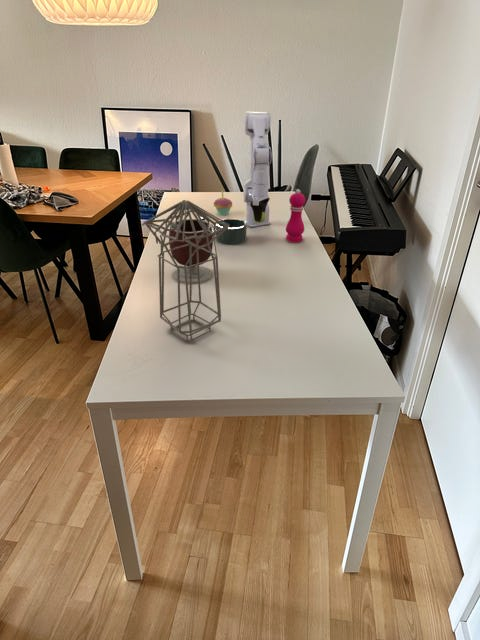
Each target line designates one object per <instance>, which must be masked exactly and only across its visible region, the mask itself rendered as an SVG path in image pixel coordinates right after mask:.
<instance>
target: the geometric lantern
mask: <svg viewBox="0 0 480 640" xmlns="http://www.w3.org/2000/svg"><path fill="white" fill-rule="evenodd" d="M169 212H170V213H169ZM167 213H169V214H168V216H167V217H166V218H161V219H158V218H160V217H162V216H163V215H166V214H167ZM192 216H193V217H194V219H196V220H197V221H198V223H199V224H200V226H201V227H202V229H203V230H204V232H203V233H202V235H201V236H197V234H196V231H195V227H194V224H193V220H192V219H193V218H192ZM201 217H202V218H204V219H205V221H207V222H208V225H207V227H206V225H205V224H204V222H203V220H202V219H201ZM186 219H190V222H191V225H192V229H193V232H194V236H190V237H186V235H185V234H184V232H185V220H186ZM199 219H200V220H199ZM168 220H170V221H169V223H167V221H168ZM174 220H175V221H176V223H175V228H172V229H170V224H171V223H172V221H173V222H174ZM178 220H179V224H178V228H177V221H178ZM219 220H220V221H219ZM200 221H201V222H200ZM222 222H223V223H222ZM157 223H160V224H157ZM183 223H184V228H183V232H182V231H181V230H180V227H181V226H182V224H183ZM209 223H210V224H212V225H214V232H212V231H210V230H209V229H208V228H209ZM202 224H203V225H202ZM216 224H220V225H223V226H224V227H222V228H220V229H218V230H216V231H215V227H216ZM164 225H165V226H164ZM141 226H146V227H147V229H148V230H149V232H150V233H151V234H152V235H153V237H154V239H155V243H156V244H159V245H160V253H159V254H157V257H158V283H159V284H158V289H159V318H160V320H162V321H163V322H165V323H166V324H167V325H169V327H170V331H169V332H170V333H171V334H172V335H174V336H176V337H178V338H179V339H181V340H182V341H184V342H186V343H190V342H193V341H195V340H197V339H199V338H201V337H203V336H205V335H206V334H207V335H208V333H211V331H212V328H211V327H212V326H214V325H216V324H217V323H220V322H221V321H222V311H221V310H222V309H221V292H220V276H219V275H220V274H219V257H218V253H217V246H216V238H217V237H218V236H220V235H221V234H222V233H223V232H224V231H225V230H226V229H228V227H229V224H228V223H226V222H224V221H222V219H221V218H219V217H218V216H215V215H214V214H212V213H211V212H209V211H207V210H205V209H204V208H201V207H200V206H199V205H197V204H195V203H194V202H191V201H190V200H188V199H187V200H185V199H182V201H179V202H177V203H176V204H174V205H172V206H170V207H168V208H167V209H165V210H163V211H161V212H159V213H158V214H155V215H153V216H152V217H150V218H148V219H147V220H144V221H143V222H142V224H141ZM154 230H155V231H154ZM175 230H177V233H176V237H172V236H169V234H168V232H169V231H175ZM179 231H181V233H182V234H183V239H182V240H177V239H178V235H179ZM207 231H208V232H209V234H208V232H207ZM220 231H221V232H220ZM218 232H220V233H218ZM157 233H159V234H160V235H159V236H158V235H157ZM205 233H206V235H204V234H205ZM217 233H218V234H217ZM216 234H217V235H216ZM210 235H213V239H212V240H210V241H209V242H208V236H210ZM184 236H185V237H186V238H184ZM204 237H207V244H204V245H202V246H198V243H199V242H200V240H201V239H202V238H204ZM166 238H167V239H169V238H170V239H173V240H171V241H169V240H168V242H166ZM192 238H195V239H196V245H195V244H193V243H192V242H191V241H190V240H189V239H192ZM197 239H199V240H198V241H197ZM175 241H180V242H184V241H185V242H187V243H189V244H190V258H189V260H188V261H187V263H186V264H185V266H184V265H178V262H177V261H176V260H175V259H174V258H173V256H172V254H171V250H175V249H178V248H181V247H185V246H188V245H189V244H186V245H183V246H180V247H176V248H173V249H170V248H168V245H169V244H171V243H173V242H175ZM212 242H213V247H214V252H213V250H212V251H211V248H210V246H209V244H210V243H212ZM192 246H193V247H195V248H196V249H195V251H194V252H193V254H192ZM206 246H208V249H209V251H208V250H206V249H204V248H203V247H206ZM164 249H165V250H164ZM199 249H202V250H204V251H206V252H208V253H210V254H211V256H210V257H211V258H210V259H208V260H207V261H204V262H200V263H199V255H198V250H199ZM195 252H196V255H197V264H194V265H192V256H193V255H194V253H195ZM165 253H167V254H168V255H169V257H170V259H171V261H169V260H167V259H166V258H165ZM189 261H190V266H187V267H186V265H187V264H188V262H189ZM165 262H166V263H168V264H169V265H171V266H172V267H174V268H176V270H177V278H178V280H177V305H175V306H173V307H170V308H167V309H165V306H164V305H165ZM208 262H212V266H213V277H214V287H215V289H214V290H215V298H216V308H217V311H216V310H215V309H214V308H212V307H211V306H208V305H207V304H205V303H204V302H203V301H202V292H201V291H202V290H201V282H200V272H199V266H200V265H199V264H202V263H204V264H206V263H208ZM196 265H197V272H198V283H197V287H198V300H192V297H193V296H192V289H193V288H192V286H193V285H192V284H193V283H192V267H193V266H196ZM202 265H203V264H202ZM179 268H182V269H184V271H185V283H184V284H185V293H186V302H183V303H181V282H180V271H179ZM187 268H190V283H188V280H187ZM191 303H193V304H197V305H196V307H195V309H194V311H193V313H192V306H191ZM186 305H187V314H186V315H183V316H182V313H181V312H182V311H181V310H182V309H181V307H183V306H186ZM200 305H202V306H203V307H205V308H207V309H208V310H209V311H211V312H213V313H214V314H216V316H215V317H214V318H213V319H212V320H211V321H208V320H207V319H204V318H203V317H201V316H199V315H197V314H196V312H197V310H198V308H199V306H200ZM175 309H177V311H178V313H177V314H178V315H177V317H178V319H176V320H173V321H171V320H170V319H169V318H168V317H167V316H166V315H165V313H167V312H169V311H173V310H175ZM191 316H192V317H191ZM187 317H188V320H186V321H184V322H182V320H183V319H185V318H187ZM195 318H198V319H200V320H202V321H204V322H205V323H207V324H203V323H202V322H199V321H197V320H196V319H195ZM216 319H217V320H216ZM177 322H178V325H176V326H175V325H174V324H175V323H177ZM192 322H195V323H197V324H199V325H200V326H199V327H197V328H194V329H193V328H192V327H193V326H192ZM187 323H188V326H189V330H182V326H183V325H186V324H187ZM205 329H208V330H207V331H206V332H204V333H202V334H200V335H198V336H196V337H194V338H193V335H195V334H198V333H199V332H202V331H203V330H205ZM173 330H175V331H176V332H178V333H179V334H180V335H183V336H185V338H186V339H185V338H184V337H182V336H180V335H179V334H177V333H175V332H174V331H173ZM189 337H190V339H189Z"/></svg>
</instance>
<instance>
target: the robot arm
mask: <svg viewBox="0 0 480 640" xmlns="http://www.w3.org/2000/svg"><path fill="white" fill-rule="evenodd" d="M271 121H272V115H271V113H270V111H245V113H244V132H245V135H246V136H248V137H249V140H250V178H249V179H248V180H247V181H245V182H244V184H243V202H244V203H246V213H245V214H246V216H245V217H246V219H245V220H243V221H245V222H246V224H247V226H248V227H250V228H254V227H260V226H266V225H270V204H269V202H270V199H271V198H270V196H269V185H270V184H269V183H270V165H271V163H272V148H271V146H270V144H269V138H268V136H267V135H269V132H270V128H271ZM263 212H264V213H265V216H266V217H265V220H264V221H263V222H262V223H257V222H256V221H261V218H262V213H263ZM253 216H254V218H253ZM254 219H255V220H254Z"/></svg>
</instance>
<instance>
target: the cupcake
mask: <svg viewBox="0 0 480 640" xmlns="http://www.w3.org/2000/svg"><path fill="white" fill-rule="evenodd" d="M213 207H215V209H216V212H217V214H218V215H219V216H228V215H229V214H230V211H231V208H233V202H232V200H231V199H229V198H227V197H224V188H222V189H221V197H219V198H217V199H215V200H214V202H213Z"/></svg>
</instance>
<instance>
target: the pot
mask: <svg viewBox="0 0 480 640" xmlns="http://www.w3.org/2000/svg"><path fill="white" fill-rule="evenodd" d="M221 220H222V221H224V222H226V223H228V224H229V227H228V229H226V230H225V231H224V232H223V233H222V234H221V235H220V236H218V237H217V238H216V239H215V241H217V242H218V243H220V244H223V245H227V246H228V245H230V246H235V245H240V244H243V243H245V242H246V241H247V231H248V229H247V228H248V227H247V226H248V225H247V224H246V222H245V221H244V220H243V219H240V218H223V219H221ZM219 221H220V220H219ZM222 223H223V222H222ZM222 227H224V226H223V225H220V224H216V230H218V229H220V228H222ZM220 232H221V231H220ZM220 232H218V233H220ZM218 233H217V234H218ZM217 234H215V236H216V235H217Z"/></svg>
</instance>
